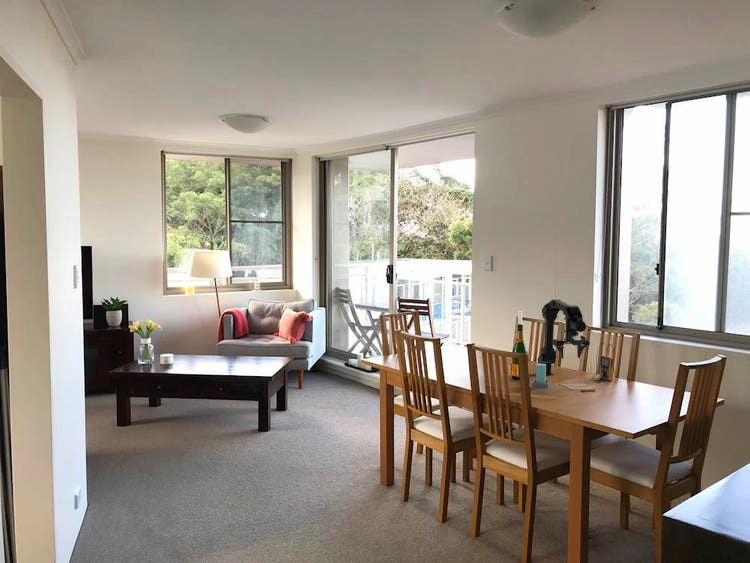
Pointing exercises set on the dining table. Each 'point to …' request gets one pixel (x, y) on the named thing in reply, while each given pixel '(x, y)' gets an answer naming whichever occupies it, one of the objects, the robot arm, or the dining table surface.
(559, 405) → the dining table surface
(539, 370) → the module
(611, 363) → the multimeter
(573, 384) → the board
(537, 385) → the case base
